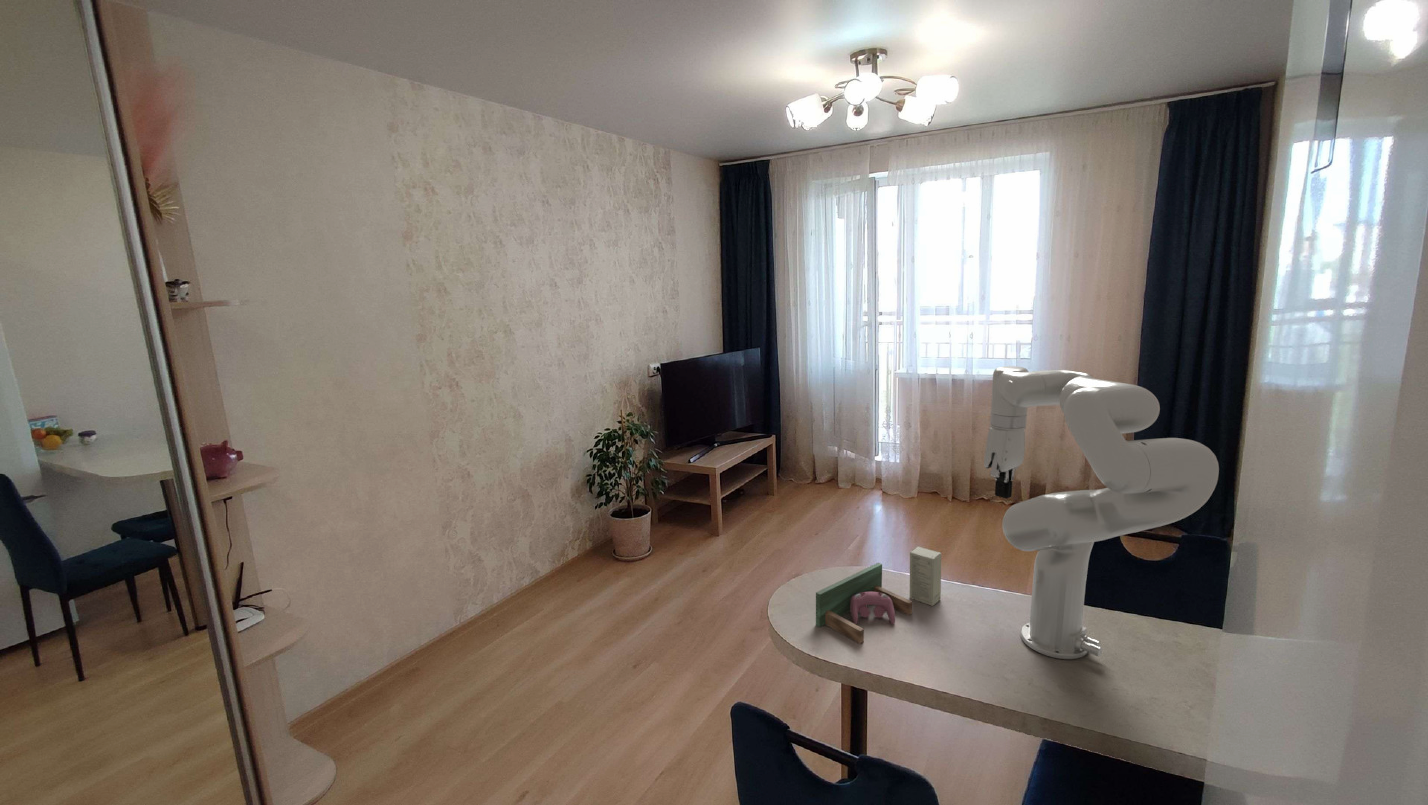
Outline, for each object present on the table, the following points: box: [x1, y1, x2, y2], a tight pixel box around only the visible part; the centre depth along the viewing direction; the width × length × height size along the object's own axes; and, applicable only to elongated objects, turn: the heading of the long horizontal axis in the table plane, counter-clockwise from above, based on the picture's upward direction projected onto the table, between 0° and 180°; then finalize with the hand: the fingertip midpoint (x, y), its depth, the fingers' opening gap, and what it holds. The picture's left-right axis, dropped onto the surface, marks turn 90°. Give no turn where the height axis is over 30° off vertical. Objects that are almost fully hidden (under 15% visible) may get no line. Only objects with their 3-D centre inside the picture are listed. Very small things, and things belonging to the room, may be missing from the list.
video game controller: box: [850, 591, 896, 625], centre depth 144 cm, size 10×5×7 cm, turn 86°
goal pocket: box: [815, 562, 913, 644], centre depth 143 cm, size 11×22×8 cm, turn 128°
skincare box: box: [909, 546, 942, 607], centre depth 150 cm, size 6×4×12 cm
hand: (1003, 496), depth 147 cm, fingers closed
